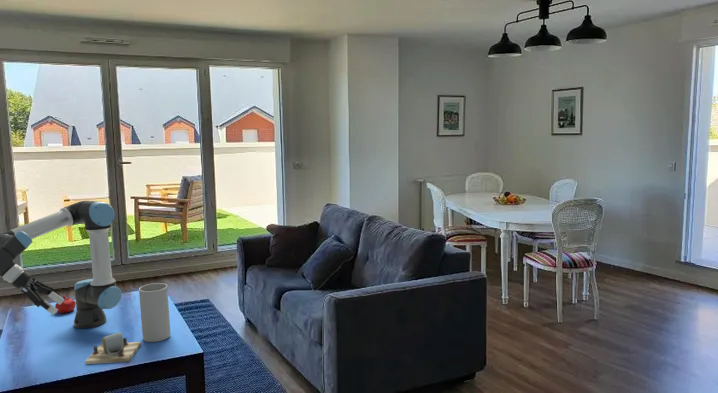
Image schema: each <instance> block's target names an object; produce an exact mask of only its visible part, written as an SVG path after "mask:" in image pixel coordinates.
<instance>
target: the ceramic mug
mask: <svg viewBox="0 0 718 393" xmlns="http://www.w3.org/2000/svg"><path fill="white" fill-rule="evenodd" d="M123 338H124V337H123V334H122V332H121V331H119V332H116V333H113V334H109V335H106V336H103V337H102V338H101V344H103V349H104V352H105V353H108V354H109V355H111V356H116V355H118V354H119V351H118V350H119V349H121V348H122V349H124V342H123ZM113 351H118V352H116V353H110V352H113Z"/></svg>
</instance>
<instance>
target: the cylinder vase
mask: <svg viewBox="0 0 718 393" xmlns="http://www.w3.org/2000/svg"><path fill="white" fill-rule="evenodd" d="M138 291H139V305H140V307H139V308H140V318H141V320H140V321H141V334H142V340H143V341H144V342H147V343H157V342H162V341H165V340H167V339H169V338H170V336H171V324H170V322H171V321H170V310H169V309H170V307H169V306H170V305H169V294H168V293H169V291H168V284H166V283H161V282H160V283H159V282H157V283H148V284H145V285H141V286H140V287H139V288H138Z"/></svg>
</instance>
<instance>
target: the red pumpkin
mask: <svg viewBox="0 0 718 393" xmlns="http://www.w3.org/2000/svg"><path fill="white" fill-rule="evenodd" d="M62 298H63V299H64V301H63V302H62V303H61V304H60V305H59V304H58V303H57V302H55V305H54V307H55V308H56V309H58V311H57V312H56V313H58V314H65V313H66V314H68V313H71V312H73V311H74V310H75V308H76V300H74V299H73V298H71V297H70V296H68V297H66V295H64V294H63V295H62Z"/></svg>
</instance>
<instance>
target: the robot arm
mask: <svg viewBox="0 0 718 393" xmlns="http://www.w3.org/2000/svg"><path fill="white" fill-rule="evenodd" d="M115 213H116V212H115V209H114V208H113V206H112V205H110V204H109V203H108V202H103V201H101V200H99V201H97V200H81V201H77V202H75V203H72V204H69V205H67V206H64V207H61V208H60V210H59V211H57V212H55V213H51V214H49V215H47V216H43V217H41V218H38V219H36V220H34V221H31V222H28V223H25V224H23V225H21V226H18V227H15V228H12V229H10V230H7V231H4V232H0V278H2V279H3V281H5V282H7V283H9V284H10V283H11V285H12V286H13V287H14V288H16V289H17V290H19V289H20V288H22V289H20V290H21V292H22V293H23V294H24V295H25V296H26V297H27V298H28V299H29V300H30V301H31V302H32V303H33V304H34V305H35V306H36V308H40V307H41V308H43V309H45V311H47V312H48V313H50V314H51V315H52V316H53V315H55V314H56V313H58V312H57V311H58V309H56V308H55V305H52V303H50V302H48V301H47V300H45V299H43V298H42V296H41V294H45V295H47V297H48V298H50V299H51V300H53V301H54V302H55V303H58V304H59V305H60V304H61V303H62V302H63V301H64V299H63V297H61V296H60V295H59V294H57V293H56V292H55V291H54V290H55V289H54V288H53V287H51V286H49V285H48V284H46V283H43V282H41V281H40V280H38V279H36V278H35V277H33V276H32V274H31V273H29V272H28V271H27V270H24V268H22V266H20V265H19V264H17V263H16V262H14V260H16V259H17V258H18V257H19V256H20V255H21V254H22V253H23V252H24V251H25V250H27V249H29V246H31V244H32V243H33V240H34V239H36V238H38V237H41V236H43V235H46V234H49V233H51V232H54V231H56V230H59V229H61V228H63V227H66V226H67V227H71V226H74V225H79V224H83V225H84V230H85V231H86V232H87V233H88V236H89V250H90V260H91V272H92V278H87V279H83V280H79V281H77V282H76V283H74V285H73V286H74V296H75V297H74V299H75V302H76V305H75V308H76V309H75V310H76V312H75V316H74V320H73V326H74V328H77V329H91V328H95V327H99V326H101V325H103V324H105V323H106V322H107V315H106V314H105V312H104V310H111V309H113V308H115V307H117V306H118V304H119V303H120V301H121V299H122V295H123V294H122V291H121V289H120V288H119V287H118V286H117V281H116V279H115V278H114V277H113V271H112V261H111V251H110V239H109V230H111V228H112V225H111V224H112V223H113V222H114V220H115V216H116V215H115ZM32 277H33V278H32ZM40 293H41V294H40Z"/></svg>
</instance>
